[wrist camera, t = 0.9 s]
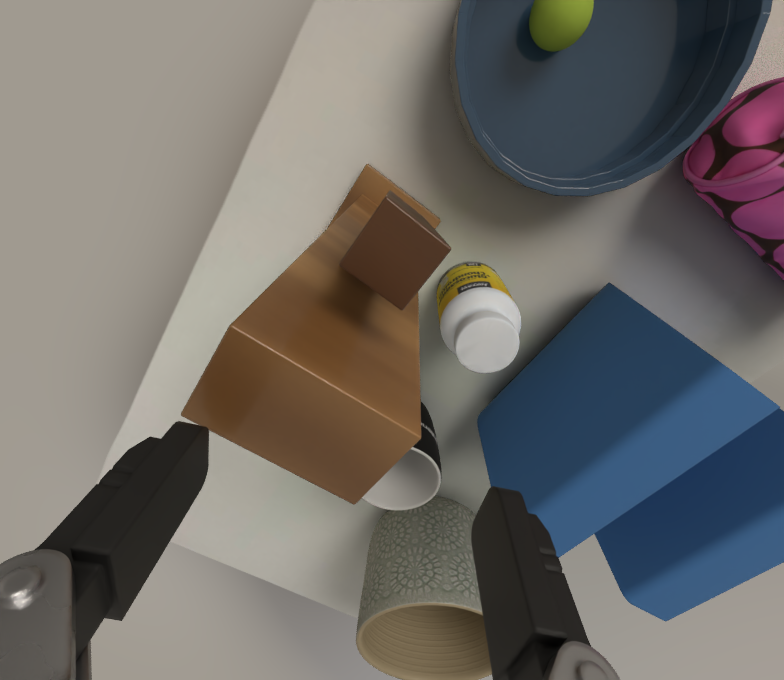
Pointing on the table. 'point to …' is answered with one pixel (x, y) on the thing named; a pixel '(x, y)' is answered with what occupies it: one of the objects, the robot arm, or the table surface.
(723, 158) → the pencil case
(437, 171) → the table surface
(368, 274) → the stick
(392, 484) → the mug
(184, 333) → the table surface
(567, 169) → the bowl
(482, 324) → the pill bottle
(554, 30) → the grape
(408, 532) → the planter
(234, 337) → the stand
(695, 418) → the block
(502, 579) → the robot arm
